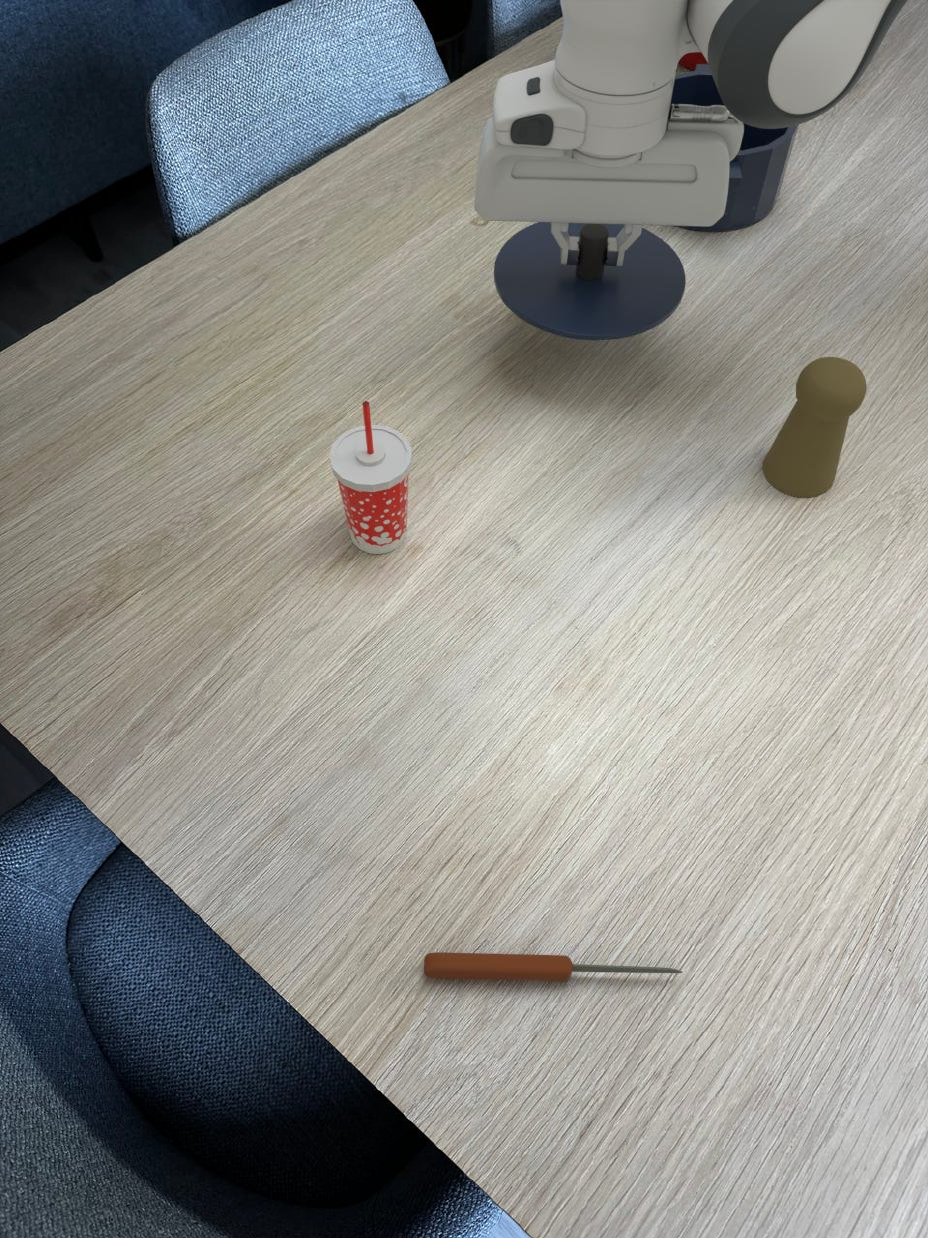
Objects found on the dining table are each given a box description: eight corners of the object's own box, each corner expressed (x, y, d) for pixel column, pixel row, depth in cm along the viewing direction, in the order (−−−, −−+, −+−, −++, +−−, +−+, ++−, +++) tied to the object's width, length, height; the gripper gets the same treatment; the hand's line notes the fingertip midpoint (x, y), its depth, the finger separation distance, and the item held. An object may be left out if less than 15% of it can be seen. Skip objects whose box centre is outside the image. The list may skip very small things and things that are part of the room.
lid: (675, 228, 95) (685, 176, 91) (691, 349, 86) (704, 297, 82) (494, 223, 96) (496, 171, 91) (491, 343, 86) (493, 291, 82)
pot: (763, 135, 117) (782, 58, 110) (790, 249, 105) (814, 172, 98) (624, 131, 117) (635, 55, 110) (636, 245, 105) (649, 168, 98)
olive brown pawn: (781, 435, 90) (817, 334, 81) (846, 465, 88) (890, 365, 79) (749, 476, 87) (783, 377, 78) (816, 508, 85) (858, 410, 76)
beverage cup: (401, 569, 81) (392, 443, 70) (329, 551, 82) (308, 423, 71) (426, 512, 85) (421, 383, 73) (356, 496, 86) (340, 365, 74)
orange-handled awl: (423, 981, 63) (423, 972, 62) (424, 959, 64) (424, 949, 63) (681, 988, 63) (687, 979, 62) (679, 965, 64) (685, 955, 62)
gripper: (744, 84, 79) (708, 241, 91) (477, 77, 79) (474, 235, 91) (755, 129, 76) (716, 287, 87) (475, 122, 76) (472, 281, 87)
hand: (590, 261), depth 89 cm, fingers closed on lid, 2 cm apart
